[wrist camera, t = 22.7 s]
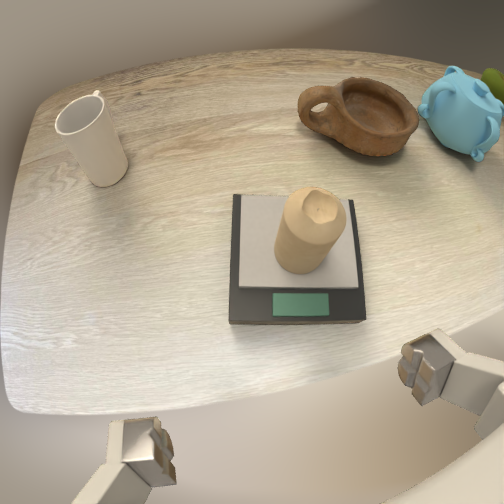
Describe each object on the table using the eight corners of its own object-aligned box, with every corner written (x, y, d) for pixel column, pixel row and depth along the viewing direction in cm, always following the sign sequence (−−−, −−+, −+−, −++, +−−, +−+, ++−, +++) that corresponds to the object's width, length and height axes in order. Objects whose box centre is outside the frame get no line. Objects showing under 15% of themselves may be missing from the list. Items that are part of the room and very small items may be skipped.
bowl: (321, 182, 40) (329, 116, 32) (285, 128, 48) (285, 73, 40) (421, 166, 42) (439, 111, 34) (376, 119, 50) (384, 71, 42)
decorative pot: (467, 180, 44) (510, 134, 31) (401, 118, 48) (431, 63, 35) (488, 144, 48) (522, 105, 35) (433, 94, 52) (459, 49, 39)
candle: (279, 278, 33) (294, 241, 24) (269, 231, 35) (279, 180, 25) (328, 270, 33) (360, 232, 24) (316, 225, 35) (340, 175, 26)
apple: (485, 112, 52) (504, 85, 43) (465, 83, 56) (481, 56, 47) (509, 119, 53) (527, 96, 44) (490, 91, 57) (506, 68, 48)
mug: (123, 189, 40) (92, 132, 29) (83, 189, 40) (46, 137, 29) (140, 134, 44) (120, 76, 32) (102, 137, 43) (77, 82, 32)
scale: (358, 323, 35) (369, 318, 32) (229, 324, 34) (228, 319, 31) (347, 209, 40) (355, 196, 37) (233, 204, 40) (233, 190, 36)
